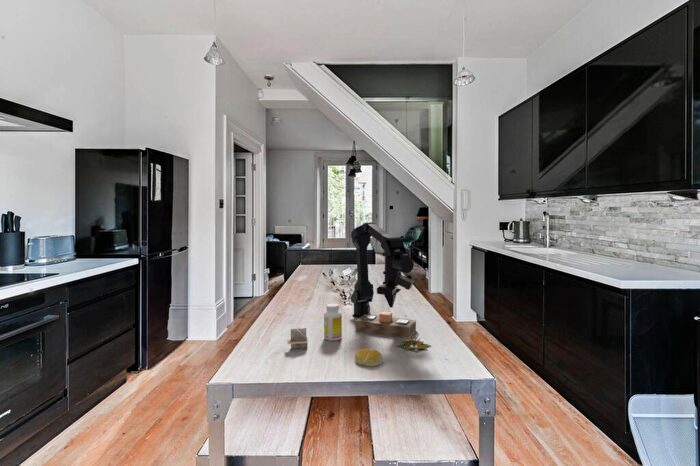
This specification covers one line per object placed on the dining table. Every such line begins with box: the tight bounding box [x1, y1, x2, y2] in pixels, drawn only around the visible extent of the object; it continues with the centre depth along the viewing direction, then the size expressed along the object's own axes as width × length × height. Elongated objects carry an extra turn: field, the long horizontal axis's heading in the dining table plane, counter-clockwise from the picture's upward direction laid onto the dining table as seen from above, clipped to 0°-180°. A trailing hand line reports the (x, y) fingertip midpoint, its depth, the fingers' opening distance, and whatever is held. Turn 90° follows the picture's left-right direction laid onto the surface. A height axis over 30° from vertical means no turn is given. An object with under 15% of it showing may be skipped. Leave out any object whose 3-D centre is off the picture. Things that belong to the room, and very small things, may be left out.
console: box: [355, 314, 417, 339], centre depth 155 cm, size 22×10×4 cm, turn 65°
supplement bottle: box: [323, 303, 343, 342], centre depth 146 cm, size 7×7×13 cm
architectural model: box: [286, 327, 309, 350], centre depth 135 cm, size 3×7×7 cm, turn 101°
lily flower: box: [397, 334, 432, 354], centre depth 138 cm, size 12×12×5 cm
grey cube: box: [363, 314, 376, 321], centre depth 158 cm, size 4×4×4 cm
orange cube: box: [378, 311, 393, 323], centre depth 155 cm, size 4×4×4 cm
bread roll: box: [354, 348, 384, 368], centre depth 125 cm, size 8×9×4 cm
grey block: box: [396, 318, 410, 325], centre depth 152 cm, size 4×4×4 cm
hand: (391, 307), depth 154 cm, fingers closed
